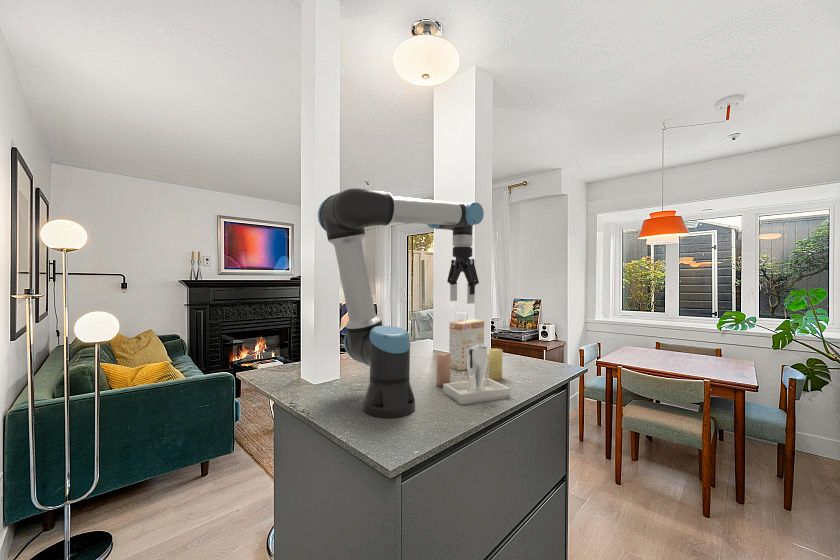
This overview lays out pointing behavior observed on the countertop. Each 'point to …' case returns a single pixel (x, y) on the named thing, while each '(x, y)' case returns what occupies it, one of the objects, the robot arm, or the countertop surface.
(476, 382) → the beer glass
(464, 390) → the tray
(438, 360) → the terracotta canister
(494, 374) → the mustard canister
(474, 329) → the coffeecake box
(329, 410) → the countertop surface
